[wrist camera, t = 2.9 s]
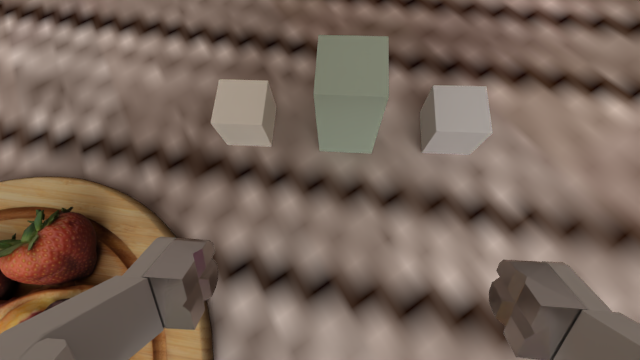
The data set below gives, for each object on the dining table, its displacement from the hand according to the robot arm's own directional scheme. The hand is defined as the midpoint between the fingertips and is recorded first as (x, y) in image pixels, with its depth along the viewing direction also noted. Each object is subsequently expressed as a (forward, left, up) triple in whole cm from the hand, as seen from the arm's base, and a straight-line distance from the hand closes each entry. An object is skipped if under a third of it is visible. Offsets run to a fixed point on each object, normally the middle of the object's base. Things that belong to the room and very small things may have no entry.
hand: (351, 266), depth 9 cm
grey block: (-12, -9, -15) cm, 21 cm away
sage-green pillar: (-4, -12, -15) cm, 19 cm away
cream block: (+4, -14, -15) cm, 21 cm away
